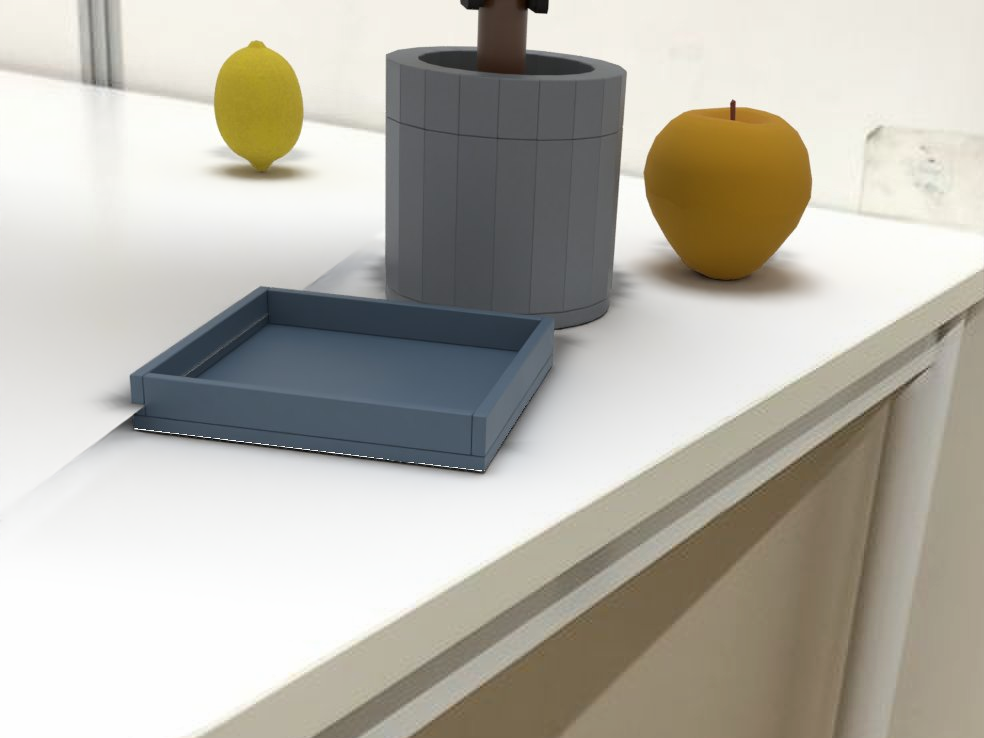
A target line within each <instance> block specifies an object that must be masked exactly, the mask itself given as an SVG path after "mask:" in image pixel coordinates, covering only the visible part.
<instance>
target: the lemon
mask: <svg viewBox="0 0 984 738" xmlns="http://www.w3.org/2000/svg"><path fill="white" fill-rule="evenodd" d="M213 112H214V117H215V123H216V126H217V130H218V132H219V134H220V136H221V138H222V140H223V141H224V143H225V144H226V146H227V147H228V148H229V149H230V151H232V152H233V153H234V154H236V155H237V156H239V157H241V158H243V159H244V160H246V161H248V163H250V165H251V166H252V167H253V168H254V170H256V171H259V172H264V171H267V170H268V169H269V168H270V167H271V165H272V164H273V163H274V162H276V161H277V160H279V159H281V158H284V157H285V156H287V155H288V154H289V153H290V152H291V151H292V149H293V148H294V147H295V146H296V144H297V142H298V141H299V139H300V135H301V133H302V129H303V124H304V101H303V93H302V90H301V86H300V82H299V79H298V76H297V74H296V72H295V69H294V68H293V67H292V65H291V64H290V63H289V62H288V60H287V59H286V58H285V57H284V56H283V55H281V54H280V53H279V52H278V51H275V50H273V49H271V48H269V47H267V46H266V44H265V43H264V42H263V41H262V40H257V39H256V40H251V41H250V42H249V43H248V45H247V46H245V47H242V48H240V49H238V50H236V51H235V52H233V53H232V54H230V56H228V58H226V60H225V61H224V62H223V63H222V65H221V67H220V68H219V72H218V74H217V77H216V82H215V87H214V94H213Z"/></svg>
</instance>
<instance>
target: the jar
mask: <svg viewBox="0 0 984 738" xmlns="http://www.w3.org/2000/svg"><path fill="white" fill-rule="evenodd" d="M476 68H477V46H474V45H473V46H467V45H466V46H464V45H462V46H460V45H459V46H457V45H437V46H436V45H435V46H418V47H408V48H401V49H397V50H393V51H391V52H388V53H386V54H385V125H384V126H385V135H384V136H385V137H384V138H385V139H384V140H385V141H384V142H385V145H384V146H385V147H384V148H385V151H384V154H385V155H384V158H385V159H384V160H385V163H384V164H385V165H384V166H385V167H384V169H385V171H384V173H385V175H384V176H385V177H384V181H385V185H384V186H385V187H384V188H385V189H384V191H385V192H384V193H385V195H384V197H385V198H384V203H385V204H384V251H385V252H384V276H385V277H384V278H385V297H386V300H393V301H402V302H411V303H420V304H430V305H439V306H448V307H457V308H466V309H475V310H484V311H493V312H502V313H512V314H521V315H530V316H539V317H543V318H544V317H548V318H554V319H555V325H554V330H556V329H564V328H569V327H570V328H571V327H574V326H579V325H583V324H587V323H590V322H592V321H594V320H597V319H600V318H601V317H602V316H604V315H605V314H606V313H607V311H608V310H609V308H610V303H611V291H612V289H613V277H614V262H615V249H616V248H615V247H616V246H615V245H616V234H617V219H618V207H619V206H618V205H619V192H620V180H621V179H620V177H621V165H622V164H621V163H622V150H623V148H622V147H623V137H624V136H623V134H624V121H625V120H624V119H625V106H626V105H625V104H626V93H627V92H626V91H627V79H628V78H627V77H628V71H627V70H626V69H625V68H624V67H622V66H621V65H619V64H616V63H614V62H610V61H607V60H603V59H599V58H594V57H588V56H583V55H577V54H569V53H563V52H562V53H561V52H553V51H547V50H536V49H526V66H525V75H516V74H498V73H488V72H477V71H476Z"/></svg>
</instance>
